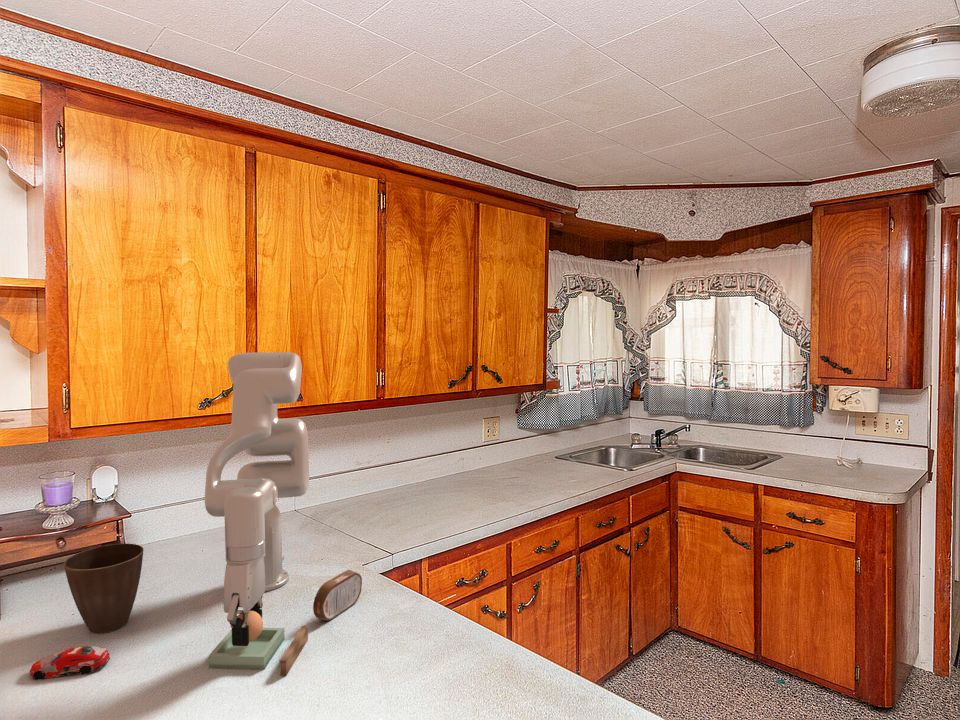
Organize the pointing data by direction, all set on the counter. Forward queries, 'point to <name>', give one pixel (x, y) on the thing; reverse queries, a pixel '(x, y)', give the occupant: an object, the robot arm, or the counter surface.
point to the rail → (293, 651)
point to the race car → (70, 662)
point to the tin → (337, 595)
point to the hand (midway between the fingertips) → (247, 635)
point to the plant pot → (105, 584)
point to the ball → (253, 624)
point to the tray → (247, 651)
